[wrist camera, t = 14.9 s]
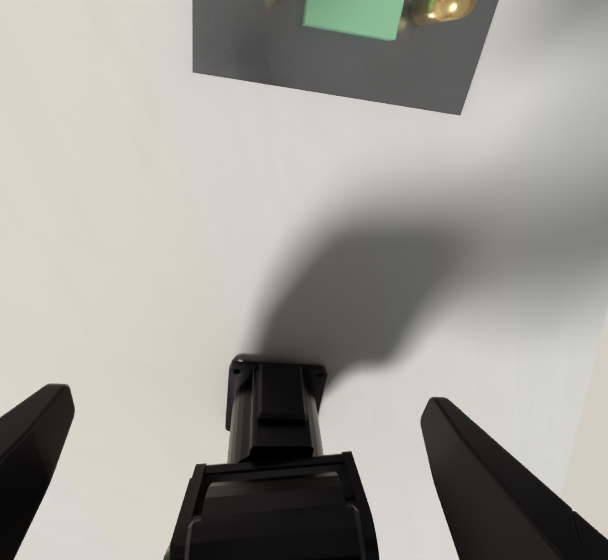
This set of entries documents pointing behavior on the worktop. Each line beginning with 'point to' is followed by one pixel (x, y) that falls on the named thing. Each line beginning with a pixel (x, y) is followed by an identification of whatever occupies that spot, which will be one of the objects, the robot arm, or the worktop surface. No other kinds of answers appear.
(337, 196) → the worktop surface
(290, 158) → the worktop surface
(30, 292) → the worktop surface
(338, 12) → the beige and green block
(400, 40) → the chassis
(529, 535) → the robot arm
